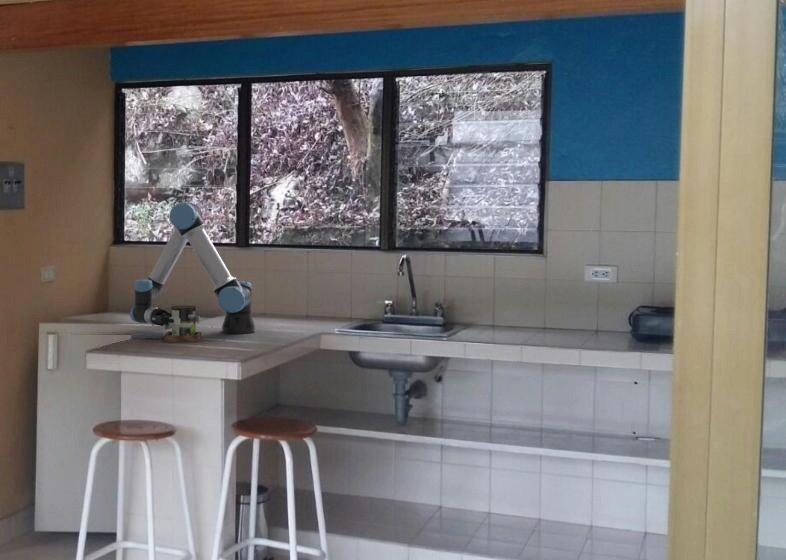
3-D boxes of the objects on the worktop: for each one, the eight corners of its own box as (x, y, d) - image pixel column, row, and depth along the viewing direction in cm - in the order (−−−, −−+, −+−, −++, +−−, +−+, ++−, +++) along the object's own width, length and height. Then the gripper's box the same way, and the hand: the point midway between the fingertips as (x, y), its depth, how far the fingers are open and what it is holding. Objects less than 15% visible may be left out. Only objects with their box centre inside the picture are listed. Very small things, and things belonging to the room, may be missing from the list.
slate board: (166, 334, 406) (166, 331, 406) (162, 338, 393) (162, 335, 393) (136, 334, 404) (136, 331, 404) (131, 338, 392) (131, 335, 391)
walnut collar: (201, 337, 400) (201, 331, 400) (198, 341, 386) (198, 335, 386) (167, 337, 398) (168, 331, 398) (163, 341, 384) (163, 335, 384)
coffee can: (200, 338, 396) (199, 305, 395) (189, 341, 386) (189, 308, 385) (178, 337, 398) (178, 304, 397) (167, 340, 388) (166, 307, 387)
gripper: (177, 323, 412) (210, 327, 398) (135, 327, 394) (168, 331, 380) (177, 306, 411) (210, 310, 398) (135, 309, 394) (168, 313, 380)
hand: (189, 320), depth 389 cm, fingers closed on coffee can, 10 cm apart
